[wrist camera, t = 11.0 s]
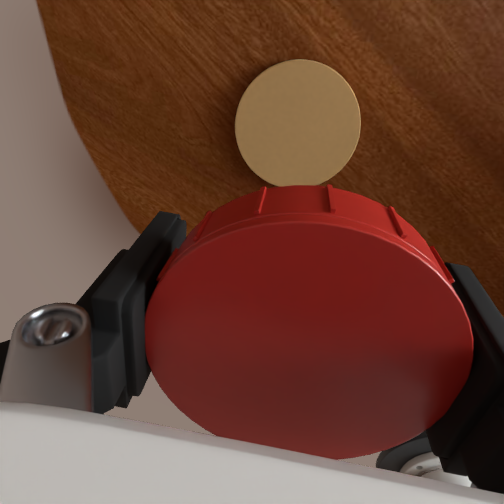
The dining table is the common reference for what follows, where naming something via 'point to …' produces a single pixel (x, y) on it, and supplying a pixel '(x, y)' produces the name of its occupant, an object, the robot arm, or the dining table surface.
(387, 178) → the dining table surface
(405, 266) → the lid
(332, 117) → the coaster
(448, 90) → the dining table surface
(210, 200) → the dining table surface
